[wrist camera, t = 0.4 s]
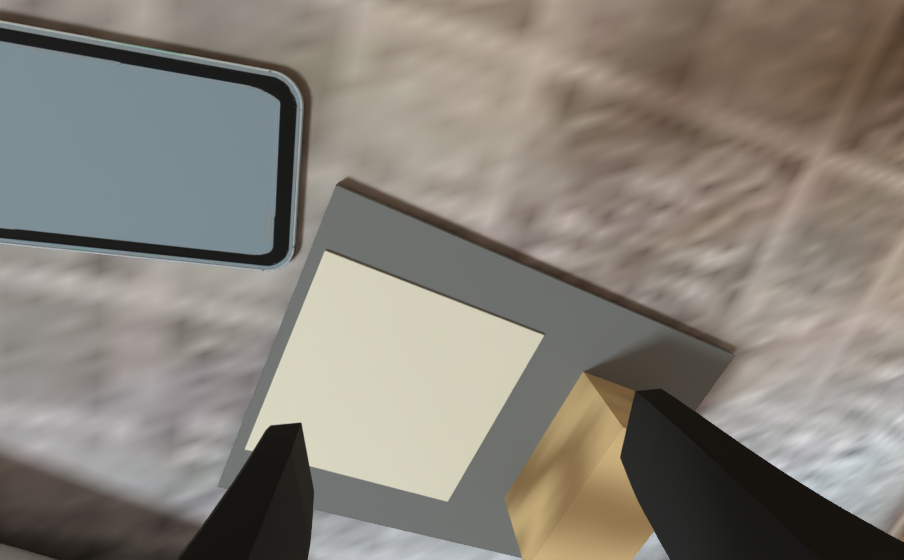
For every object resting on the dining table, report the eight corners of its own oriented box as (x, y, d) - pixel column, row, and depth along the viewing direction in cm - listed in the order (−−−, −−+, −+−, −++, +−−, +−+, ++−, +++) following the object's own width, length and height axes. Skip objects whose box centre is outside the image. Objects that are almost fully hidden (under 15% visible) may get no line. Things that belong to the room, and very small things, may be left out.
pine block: (576, 517, 26) (609, 589, 22) (504, 498, 25) (525, 570, 21) (658, 399, 24) (710, 457, 20) (583, 371, 22) (623, 427, 19)
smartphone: (292, 275, 19) (-180, 226, 16) (295, 268, 20) (-154, 220, 17) (305, 74, 16) (-254, -29, 13) (308, 74, 17) (-220, -23, 14)
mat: (575, 564, 28) (579, 572, 27) (220, 480, 22) (216, 488, 22) (729, 351, 24) (736, 356, 23) (336, 183, 18) (335, 185, 18)
